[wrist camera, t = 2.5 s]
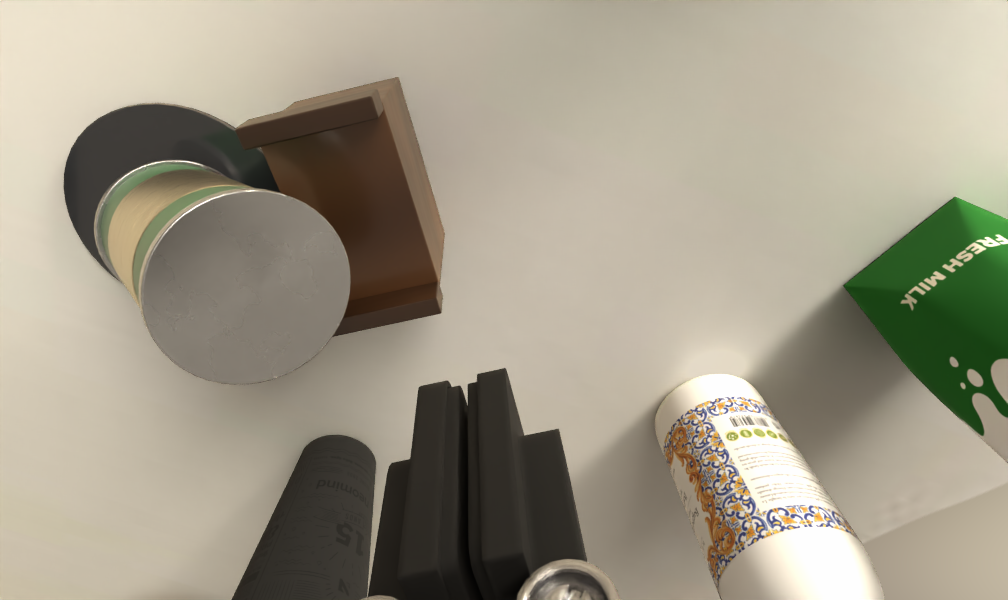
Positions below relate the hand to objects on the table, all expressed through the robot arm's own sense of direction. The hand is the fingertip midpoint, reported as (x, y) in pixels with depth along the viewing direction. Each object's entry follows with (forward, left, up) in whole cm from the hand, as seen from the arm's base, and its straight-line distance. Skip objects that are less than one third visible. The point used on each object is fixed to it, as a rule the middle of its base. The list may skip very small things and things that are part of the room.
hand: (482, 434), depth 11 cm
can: (0, -11, -13) cm, 17 cm away
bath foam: (+20, +10, -20) cm, 30 cm away
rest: (0, -5, -20) cm, 20 cm away
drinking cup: (+18, -14, -20) cm, 30 cm away
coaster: (0, -15, -20) cm, 25 cm away
